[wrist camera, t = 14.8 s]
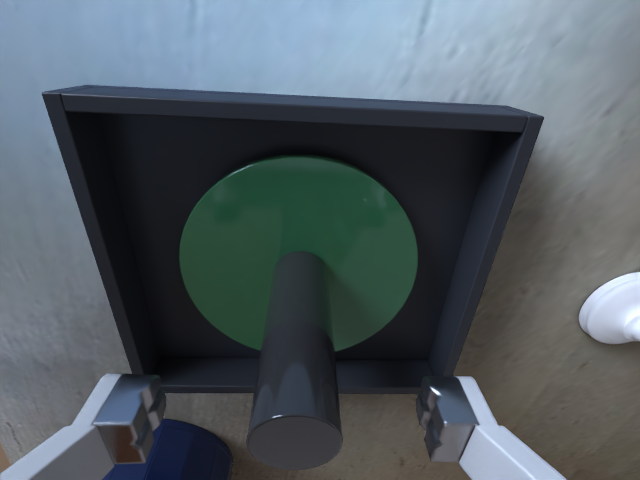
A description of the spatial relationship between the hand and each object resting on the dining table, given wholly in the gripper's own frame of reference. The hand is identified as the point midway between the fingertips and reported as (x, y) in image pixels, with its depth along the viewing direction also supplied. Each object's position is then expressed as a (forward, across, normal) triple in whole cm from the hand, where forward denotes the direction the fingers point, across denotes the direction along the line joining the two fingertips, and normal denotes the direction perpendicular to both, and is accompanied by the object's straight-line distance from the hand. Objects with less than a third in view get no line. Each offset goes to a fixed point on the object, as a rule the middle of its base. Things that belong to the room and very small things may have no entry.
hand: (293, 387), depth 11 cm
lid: (+7, 0, 0) cm, 7 cm away
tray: (+8, 0, 0) cm, 8 cm away
